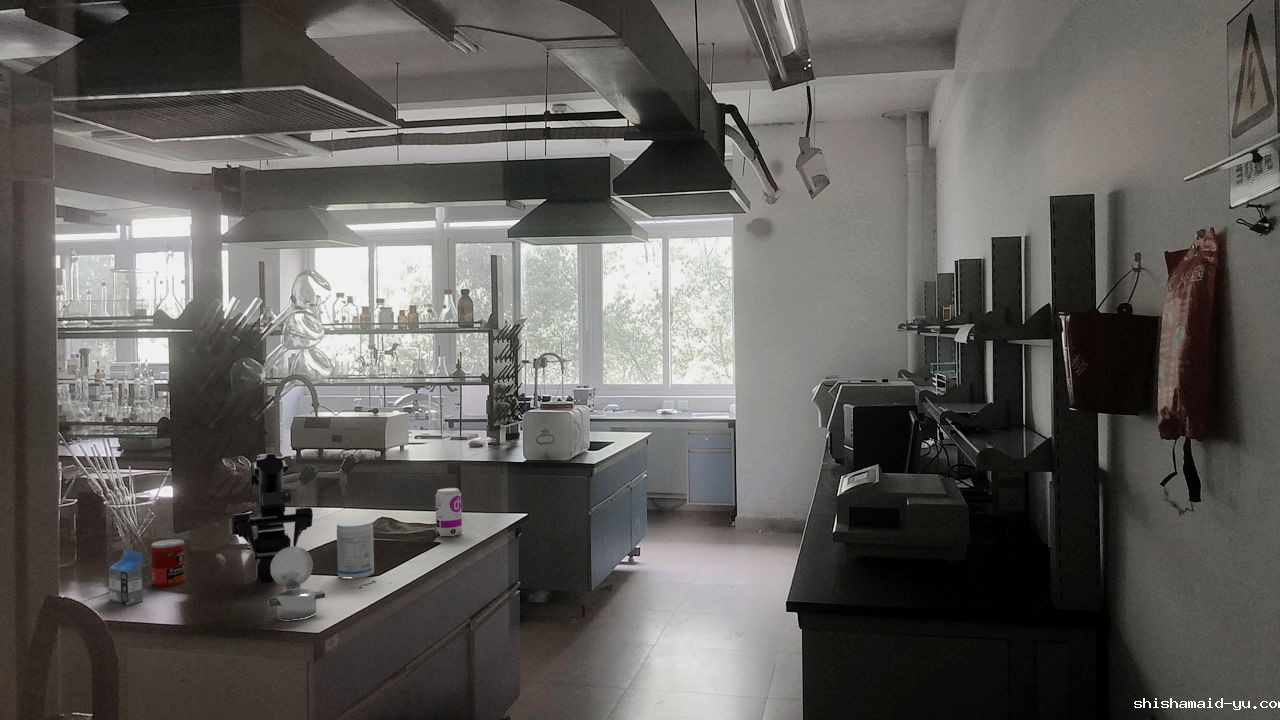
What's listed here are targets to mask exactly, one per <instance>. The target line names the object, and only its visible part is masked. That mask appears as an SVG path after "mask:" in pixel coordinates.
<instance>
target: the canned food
mask: <svg viewBox="0 0 1280 720" xmlns="http://www.w3.org/2000/svg"><path fill="white" fill-rule="evenodd" d="M150 546H151V548H150V549H151V553H150V554H151V555H150V556H151V578H152V579H151V580H152V584H153V585H154V586H155V587H171V586H177V585H180V584H182V583H184V581H185V579H186V569H185V568H186V567H185V565H186V563H185V559H186V558H185V541H184V540H183V539H178V538H177V539H175V538H173V539H172V538H170V539H162V540H159V541H155V542H153V543H151V545H150Z"/></svg>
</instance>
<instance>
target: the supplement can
mask: <svg viewBox="0 0 1280 720" xmlns="http://www.w3.org/2000/svg"><path fill="white" fill-rule="evenodd" d="M462 515H463V514H462V492H461V491H460V488H457V487H445V488H439V489H437V491H436V493H435V521H436V524H435V525H436V527H435V529H436V528H437V530H438V532H439V534H440V535H442V536H453V535H458V536H460V535H461V533H463V532H462V531H463V526H462V525H463V523H462V521H463V520H462V518H463V517H462ZM437 530H436V531H437ZM459 534H460V535H459ZM453 537H454V536H453Z"/></svg>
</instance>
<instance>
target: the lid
mask: <svg viewBox="0 0 1280 720" xmlns="http://www.w3.org/2000/svg"><path fill="white" fill-rule="evenodd" d="M313 567H314V561H313V558H312V556H311V554H310V553H309V552H308V551H307V550H306V549H305V548H303V547H299V546H296V547H294V546H290V547H287V548H284V549H282V550H281V551H279V552H278V553H277V554H276V555H275V556H274V558H273V560H272V562H271V567H270V571H271V575H272V577H273V579H274V580H275V581H274V582H275V583H277V584H278V585H280V586H282V587H284V588H285V590H290V589H296V588H300V589H301V585H302V584H304V583H305V582H306V581H307V580H308V579H309V578H310V577H311V574H312V573H313V569H314V568H313Z"/></svg>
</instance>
